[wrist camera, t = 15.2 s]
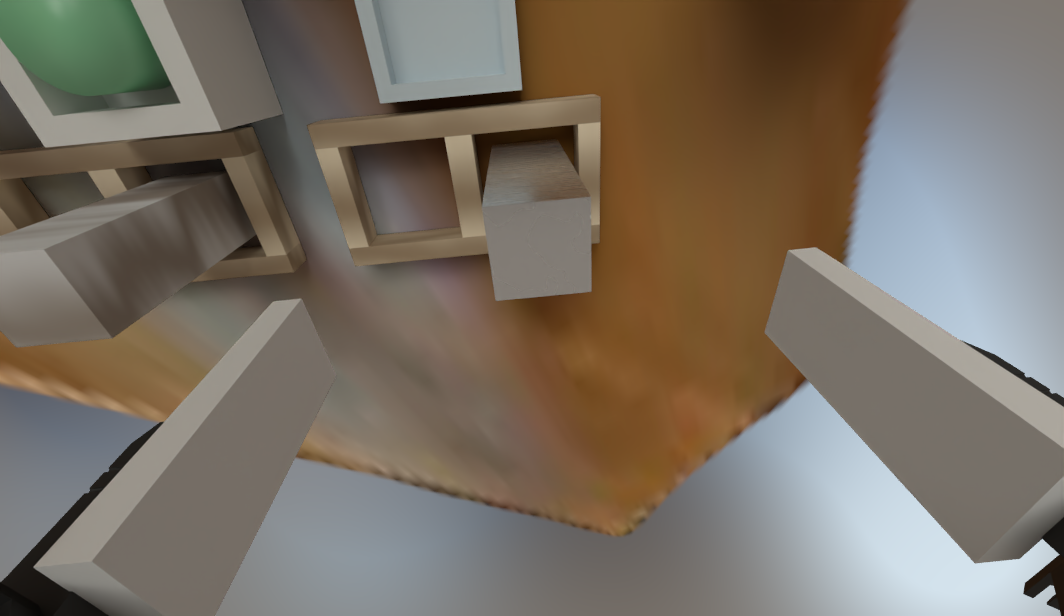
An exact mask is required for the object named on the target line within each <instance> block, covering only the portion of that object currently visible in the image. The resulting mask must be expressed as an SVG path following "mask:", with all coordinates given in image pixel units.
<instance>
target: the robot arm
mask: <svg viewBox="0 0 1064 616" xmlns="http://www.w3.org/2000/svg"><path fill="white" fill-rule="evenodd" d="M765 334H766V335H767V336H768V337H769V338H770V339H771V340H772V341H773V342H774V343H775V344H776V346H777V347H778V348H779V349H780V350H781V351H782V352H783V353H784V354H785V355H786V357H787V358H788V359H789V360H790V361H791V362H792V363H793V364H794V365H795V366H796V368H797V369H798V370H799V371H800V372H801V373H802V374H803V375H804V376H805V377H806V378H807V380H808V381H809V382H810V383H811V384H812V385H813V386H814V387H815V388H816V389H817V390H818V391H819V393H820V394H821V395H822V396H823V397H824V398H825V399H826V400H827V402H829V404H830V405H831V406H832V407H833V408H834V409H835V410H836V411H837V412H838V414H839V415H840V416H841V417H842V418H843V419H844V420H845V421H846V422H847V423H848V424H849V426H851V428H852V429H853V430H854V431H855V432H856V433H857V434H858V436H859V437H860V438H861V439H862V440H863V441H864V442H865V443H866V444H867V445H868V447H869V448H870V449H871V450H872V451H873V452H874V453H875V454H876V455H877V456H878V457H879V459H880V460H881V461H882V462H883V463H884V464H885V465H886V466H887V467H888V468H889V469H890V471H891V472H892V473H893V474H894V475H895V476H896V477H897V478H898V479H899V481H900V482H901V483H902V484H903V485H904V486H905V487H906V488H907V489H908V490H909V491H910V493H911V494H913V496H914V497H915V498H916V499H917V500H918V501H919V502H920V503H921V505H922V506H923V507H924V508H925V509H926V510H927V511H928V512H929V513H930V515H931V516H932V517H933V518H934V519H935V520H936V521H937V522H938V523H939V524H940V525H941V527H942V528H943V529H944V530H945V531H946V532H947V533H948V534H949V535H950V536H951V538H952V539H953V540H954V541H955V542H956V543H957V544H958V545H959V546H960V547H961V548H962V550H963V551H964V552H965V553H966V554H967V555H968V556H969V557H970V558H971V560H972V561H973V562H974V563H982V562H992V561H1001V560H1012V559H1020V558H1021V557H1022V556H1023V555H1024V554H1025V553H1026V552H1028V551H1029V550H1030V549H1031V548H1032V547H1033V546H1034V545H1036V544H1037V543H1038V542H1039V541H1040V540H1041V539H1043V540H1044V541H1045V542H1047V543H1048V544H1049V545H1050V546H1051V547H1052V548H1054V550H1055V551H1056V552H1058V553H1059V554H1060V555H1059V556H1057V557H1056V558H1055V559H1054V560H1053V561H1051V562H1050V563H1049V564H1048V565H1046V566H1045V567H1044V568H1043V569H1042V570H1040V571H1039V572H1038V573H1037V574H1036V575H1034V576H1033V577H1032V578H1031V579H1029V580H1028V581H1027V582H1026V583H1025V587H1024V594H1025V595H1027V596H1030V597H1032V598H1034V597H1035V596H1036V595H1038V594H1039V593H1040V592H1042V591H1043V590H1044V589H1045V588H1047V587H1048V586H1049V585H1053V586H1054V588H1055V592H1056V595H1054V596H1053V597H1052V598H1051V599H1050V600H1049V601H1048V602H1047V605H1049V606H1052V607H1054V608H1056V609H1058V610H1060V612H1061V616H1064V398H1063V397H1061V396H1060V395H1058V394H1057V393H1054V394H1052V393H1050V391H1049V390H1050V389H1049V388H1047V387H1046V386H1044V385H1042V384H1041V383H1039V382H1038V381H1036V380H1034V379H1033V378H1031V377H1025V375H1024V374H1025V373H1023V372H1021V371H1020V370H1018V369H1017V368H1015V367H1014V366H1012V365H1011V364H1009V363H1007V362H1006V361H1004V360H1003V359H1001V358H999V357H998V356H996V355H994V354H992V353H990V352H987V351H985V350H982V349H980V348H978V347H975V346H973V345H971V344H968V343H966V342H963V341H961V340H959V339H957V338H956V337H954V336H952V335H951V334H950V333H948V332H946V331H945V330H943V329H942V328H940V327H939V326H937V325H936V324H934V323H933V322H931V321H929V320H928V319H926V318H925V317H923V316H922V315H920V314H919V313H917V312H915V311H914V310H912V309H911V308H909V307H908V306H906V305H905V304H903V303H902V302H900V301H898V300H897V299H895V298H894V297H892V296H891V295H889V294H888V293H886V292H884V291H883V290H881V289H880V288H878V287H877V286H875V285H873V284H872V283H870V282H869V281H867V280H866V279H864V278H863V277H861V276H860V275H858V274H857V273H855V272H853V271H852V270H850V269H849V268H847V267H846V266H844V265H843V264H841V263H839V262H838V261H836V260H835V259H833V258H832V257H830V256H829V255H827V254H825V253H824V252H822V251H821V250H819V249H818V248H806V249H796V250H788V252H787V256H786V259H785V263H784V266H783V270H782V273H781V277H780V280H779V284H778V287H777V291H776V294H775V298H774V301H773V305H772V308H771V312H770V315H769V319H768V323H767V326H766V330H765ZM336 376H337V375H336V373H335V371H334V368H333V366H332V364H331V362H330V360H329V357H328V355H327V353H326V351H325V349H324V346H323V344H322V342H321V340H320V338H319V335H318V333H317V331H316V329H315V327H314V324H313V322H312V320H311V318H310V316H309V313H308V311H307V309H306V307H305V305H304V302H303V300H302V299H292V300H282V301H273V302H272V303H271V304H270V305H269V306H268V308H267V309H266V310H265V311H264V312H263V313H262V314H261V315H260V316H259V318H258V319H257V320H256V321H255V322H254V323H253V324H252V325H251V326H250V328H249V329H248V330H247V331H246V332H245V333H244V334H243V335H242V336H241V338H240V339H239V340H238V341H237V342H236V343H235V344H234V345H233V346H232V347H231V349H230V350H229V351H228V352H227V353H226V354H225V355H224V356H223V357H222V359H221V360H220V361H219V362H218V363H217V364H216V365H215V366H214V367H213V369H212V370H211V371H210V372H209V373H208V374H207V375H206V376H205V377H204V379H203V380H202V381H201V382H200V383H199V384H198V385H197V386H196V387H195V388H194V390H193V391H192V392H191V393H190V394H189V395H188V396H187V397H186V398H185V400H184V401H183V402H182V403H181V404H180V405H179V406H178V407H177V408H176V410H175V411H174V412H173V413H172V414H171V415H170V416H169V417H168V418H167V420H166V421H165V422H160V423H159V424H157V425H156V426H154V427H153V428H152V429H151V430H149V431H148V432H146V433H145V434H144V435H143V436H141V437H140V438H138V439H137V440H135V441H134V442H133V443H131V444H130V446H129V447H128V448H127V449H126V450H125V451H124V452H123V453H122V454H121V455H120V456H119V457H118V458H117V459H116V460H115V462H114V463H113V464H112V465H111V466H110V467H109V472H105V473H103V474H102V475H101V476H100V478H99V479H98V480H97V481H96V482H95V483H94V484H93V485H92V486H91V487H90V492H89V493H86V494H84V495H83V496H82V497H81V498H80V499H79V500H78V501H77V502H76V503H75V504H74V505H73V506H72V507H71V509H70V510H69V511H68V512H67V513H66V514H65V515H64V516H63V517H62V518H61V519H60V520H59V521H58V522H57V524H56V525H55V526H54V527H53V528H52V529H51V530H50V531H49V532H48V533H47V534H46V535H45V536H44V537H43V538H42V539H41V541H40V542H39V543H38V544H37V545H36V546H35V547H34V548H33V549H32V550H31V551H30V552H29V553H28V555H27V556H26V557H25V558H24V559H23V560H22V561H21V562H20V563H19V564H18V565H17V566H16V567H15V568H14V569H13V570H12V572H11V573H10V574H9V575H8V576H7V577H6V578H5V579H4V580H3V581H2V582H0V616H215V615H216V612H217V610H218V609H219V607H220V605H221V602H222V601H223V599H224V597H225V595H226V593H227V591H228V589H229V587H230V585H231V583H232V581H233V579H234V577H235V575H236V573H237V571H238V569H239V567H240V565H241V563H242V561H243V559H244V557H245V555H246V553H247V551H248V549H249V548H250V546H251V544H252V542H253V540H254V538H255V536H256V533H257V532H258V530H259V528H260V526H261V524H262V522H263V520H264V518H265V516H266V514H267V512H268V510H269V508H270V506H271V504H272V502H273V500H274V498H275V496H276V494H277V492H278V490H279V488H280V486H281V484H282V482H283V480H284V478H285V476H286V475H287V473H288V471H289V468H290V467H291V465H292V463H293V461H294V459H295V457H296V455H297V453H298V451H299V449H300V447H301V445H302V443H303V441H304V439H305V437H306V435H307V433H308V431H309V429H310V427H311V425H312V423H313V421H314V419H315V417H316V415H317V413H318V411H319V409H320V407H321V405H322V403H323V402H324V400H325V398H326V396H327V394H328V392H329V390H330V388H331V386H332V384H333V382H334V380H335V378H336Z"/></svg>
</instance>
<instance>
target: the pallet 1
mask: <svg viewBox="0 0 1064 616" xmlns="http://www.w3.org/2000/svg"><path fill="white" fill-rule="evenodd" d="M211 159H222V161H223V163H224V166H225V168H226V170H227V171H217V172H206V173H196V174H185V175H175V176H166V177H164V178H161V179H158V180H155V181H152V179H151V177H150V175H149V174H148V172H147V170H146V168H145V167H144V166H149V165H159V164H170V163H180V162H190V161H201V160H211ZM86 171H87V172H88V173H89V175H90V176H91V178H92V180H93V181H94V183H95V184H96V186H97V187H98V189H99V190H100V192H101V194H102V195H103V197H104V198H105V199H102V200H100V201H97V202H94V203H91V204H88V205H86V206H83V207H80V208H77V209H74V210H72V211H69V212H66V213H63V214H60V215H58V216H55V217H52V218H49V216H48V215H47V214H46V212H45V211H44V210H43V208H42V207H41V206H40V204H39V203H38V201H37V200H36V199H35V197H34V196H33V195H32V193H31V192H30V191H29V189H28V188H27V186H26V185H25V184H24V182H23V181H22V180H21V178H24V177H34V176H45V175H55V174H65V173H76V172H86ZM255 235H257V236H258V239H259V241H260V243H261V245H262V246H257V247H247V248H238V247H240V246H241V245H243V244H244V243H245V242H247V241H248V240H250V239H251V238H252V237H254V236H255ZM306 260H307V258H306V256H305V253H304V251H303V248H302V246H301V244H300V241H299V239H298V236H297V234H296V231H295V229H294V227H293V224H292V222H291V219H290V217H289V214H288V212H287V209H286V207H285V205H284V202H283V200H282V197H281V195H280V192H279V190H278V188H277V185H276V183H275V180H274V178H273V175H272V173H271V170H270V168H269V166H268V163H267V161H266V158H265V156H264V153H263V151H262V149H261V146H260V144H259V141H258V139H257V136H256V134H255V131H254V129H253V127H245V128H235V129H226V130H222V131H213V132H202V133H192V134H181V135H171V136H160V137H150V138H140V139H129V140H119V141H108V142H98V143H87V144H77V145H67V146H56V147H46V148H45V147H37V148H27V149H16V150H6V151H0V331H1V332H2V333H3V334H4V335H5V336H6V337H7V338H8V339H9V340H10V341H11V342H12V343H13V344H14V345H15V347H26V346H36V345H46V344H57V343H67V342H78V341H88V340H98V339H109V338H113V337H115V336H116V335H117V334H119V333H120V332H122V331H123V330H124V329H126V328H127V327H129V326H130V325H131V324H133V323H134V322H136V321H137V320H138V319H140V318H141V317H142V316H144V315H145V314H147V313H148V312H149V311H151V310H152V309H154V308H155V307H156V306H158V305H159V304H161V303H162V302H163V301H165V300H166V299H168V298H169V297H170V296H172V295H173V294H174V293H176V292H177V291H179V290H180V289H181V288H183V287H184V286H186V285H187V284H188V283H190V282H198V281H208V280H218V279H229V278H239V277H249V276H260V275H270V274H281V273H291V272H295V271H296V270H297V269H298V268H299V267H300V266H301V265H302V264H303V263H304V262H305V261H306Z"/></svg>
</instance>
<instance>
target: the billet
mask: <svg viewBox="0 0 1064 616" xmlns="http://www.w3.org/2000/svg"><path fill="white" fill-rule="evenodd" d="M482 213H483V219H484V226H485V233H486V239H487V246H488V253H489V259H490V266H491V273H492V279H493V286H494V293H495V299H496V301H500V300H511V299H521V298H532V297H542V296H552V295H563V294H573V293H584V292H591V196H590V194H589V192H588V191H587V189H586V187H585V186H584V184H583V182H582V180H581V179H580V177H579V175H578V174H577V172H576V170H575V168H574V167H573V165H572V163H571V162H570V160H569V158H568V157H567V155H566V153H565V151H564V150H563V148H562V146H561V145H560V143H559V141H558V139H549V140H539V141H528V142H518V143H507V144H497V145H492V149H491V155H490V161H489V167H488V173H487V178H486V184H485V190H484V196H483V202H482Z"/></svg>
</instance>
